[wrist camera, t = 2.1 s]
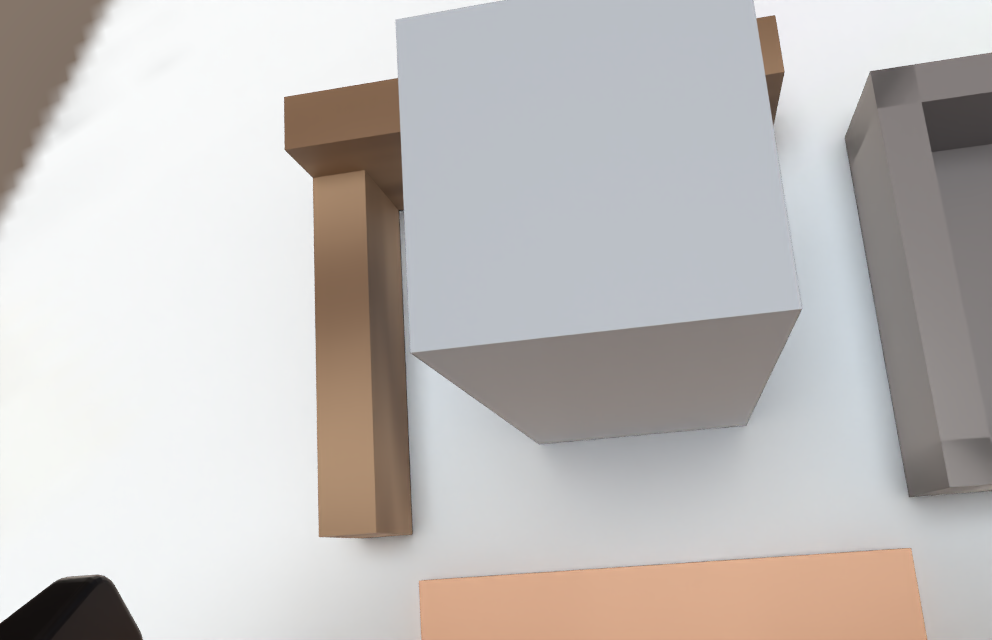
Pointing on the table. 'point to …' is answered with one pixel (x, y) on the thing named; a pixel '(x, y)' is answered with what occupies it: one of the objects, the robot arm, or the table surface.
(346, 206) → the walnut bracket
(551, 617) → the pad
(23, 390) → the table surface
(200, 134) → the table surface
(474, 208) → the slate block
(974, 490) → the dark grey open box
